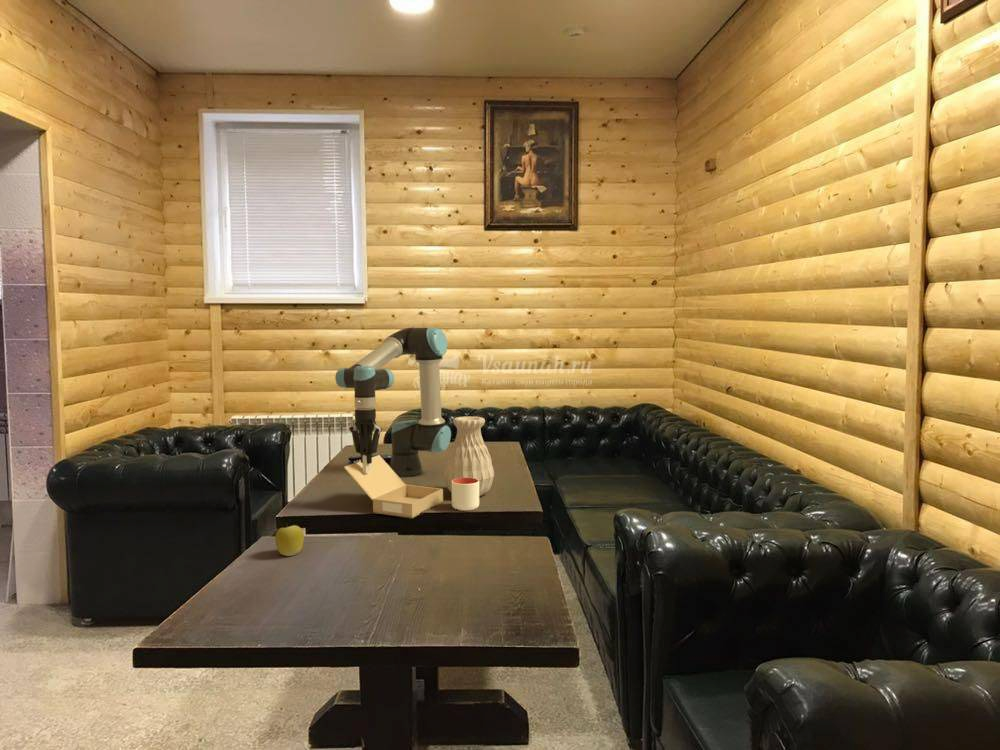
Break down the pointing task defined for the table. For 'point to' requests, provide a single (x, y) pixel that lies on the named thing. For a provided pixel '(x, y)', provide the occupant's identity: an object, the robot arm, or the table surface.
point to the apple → (289, 540)
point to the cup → (465, 494)
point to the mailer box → (407, 501)
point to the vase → (469, 455)
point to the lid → (375, 477)
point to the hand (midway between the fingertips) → (366, 472)
